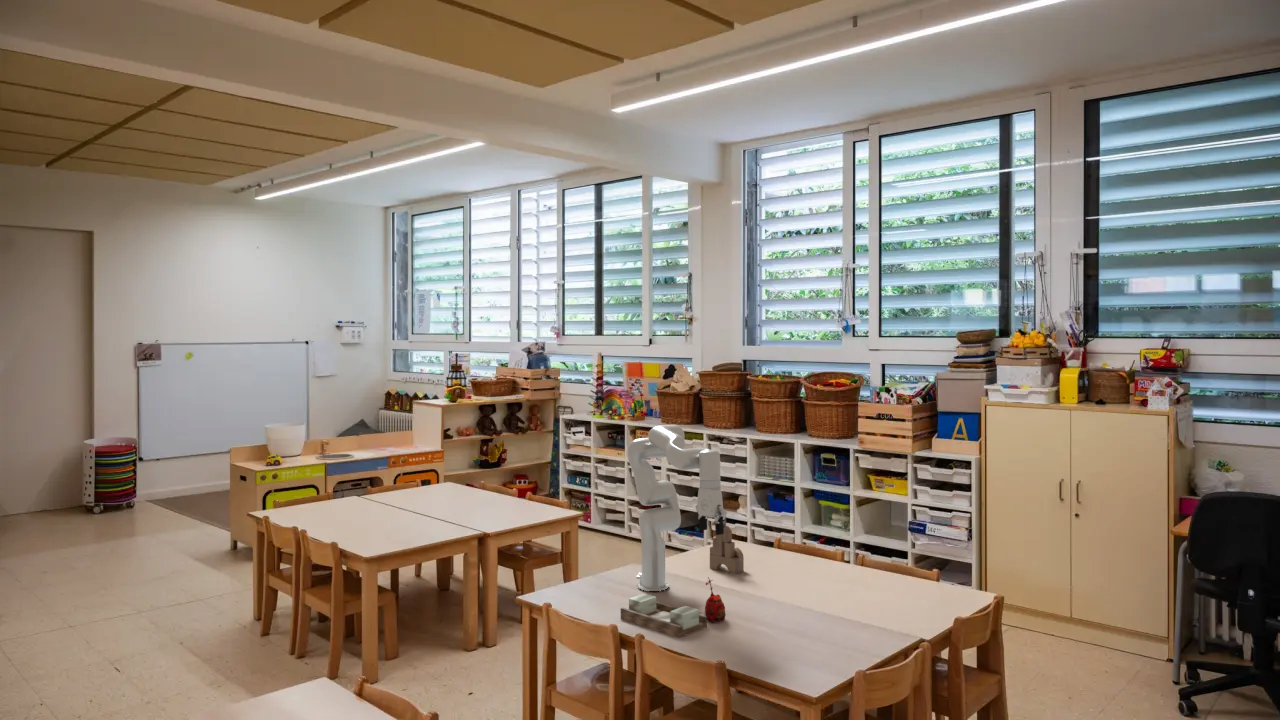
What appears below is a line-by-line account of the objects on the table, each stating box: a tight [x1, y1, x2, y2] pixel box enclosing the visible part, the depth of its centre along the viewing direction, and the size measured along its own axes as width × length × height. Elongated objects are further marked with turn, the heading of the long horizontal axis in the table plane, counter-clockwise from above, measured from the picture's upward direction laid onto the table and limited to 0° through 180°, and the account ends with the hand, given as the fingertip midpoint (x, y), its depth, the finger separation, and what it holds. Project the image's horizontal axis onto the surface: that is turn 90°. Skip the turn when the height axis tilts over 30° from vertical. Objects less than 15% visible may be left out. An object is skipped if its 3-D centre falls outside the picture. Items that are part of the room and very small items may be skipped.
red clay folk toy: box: [704, 577, 726, 624], centre depth 286 cm, size 8×7×15 cm
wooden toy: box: [709, 517, 745, 575], centre depth 350 cm, size 15×7×25 cm, turn 48°
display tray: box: [620, 593, 708, 638], centre depth 285 cm, size 28×14×6 cm, turn 46°
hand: (711, 532), depth 291 cm, fingers open, 9 cm apart
